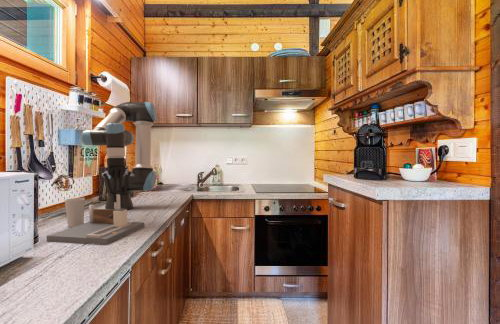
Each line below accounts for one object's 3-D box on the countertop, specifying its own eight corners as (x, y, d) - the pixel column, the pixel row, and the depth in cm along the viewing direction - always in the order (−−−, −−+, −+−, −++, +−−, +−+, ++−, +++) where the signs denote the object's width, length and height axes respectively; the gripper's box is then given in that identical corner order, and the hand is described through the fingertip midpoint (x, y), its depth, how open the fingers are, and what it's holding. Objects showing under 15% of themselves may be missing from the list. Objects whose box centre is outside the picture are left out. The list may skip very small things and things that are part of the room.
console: (94, 224, 129) (93, 203, 129) (144, 226, 124) (143, 204, 124) (46, 240, 106) (45, 214, 105) (106, 244, 100) (105, 217, 100)
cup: (76, 227, 124) (75, 201, 124) (61, 227, 126) (60, 200, 125) (89, 223, 132) (88, 198, 132) (75, 222, 134) (74, 197, 133)
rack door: (95, 222, 125) (95, 208, 125) (118, 223, 123) (117, 209, 122) (91, 223, 123) (91, 210, 122) (114, 224, 120) (114, 210, 120)
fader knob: (119, 224, 120) (119, 208, 119) (127, 225, 119) (126, 208, 119) (113, 227, 116) (113, 210, 115) (121, 227, 115) (120, 210, 115)
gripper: (125, 157, 134) (126, 205, 135) (97, 157, 124) (98, 210, 124) (133, 157, 129) (135, 207, 130) (105, 157, 119) (106, 212, 120)
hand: (117, 208), depth 127 cm, fingers closed
